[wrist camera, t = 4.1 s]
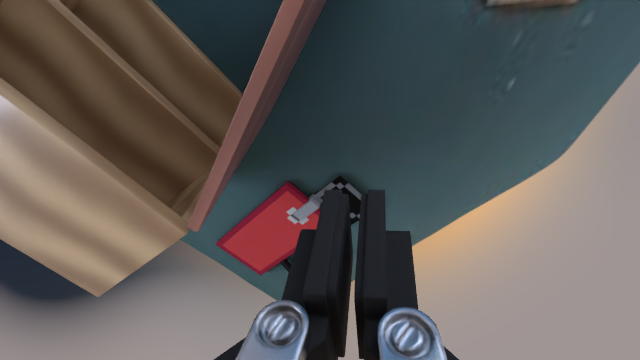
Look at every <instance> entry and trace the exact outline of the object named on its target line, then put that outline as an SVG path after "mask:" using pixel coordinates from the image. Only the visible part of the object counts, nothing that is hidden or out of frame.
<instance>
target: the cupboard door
mask: <svg viewBox="0 0 640 360" xmlns="http://www.w3.org/2000/svg"><path fill="white" fill-rule="evenodd" d="M326 1H327V0H283V2H282V4H281V6H280V9H279V11H278V14H277V16H276V18H275V21H274V23H273V25H272V28H271V30H270V32H269V35H268V37H267V40H266V42H265V44H264V47H263V49H262V51H261V54H260V56H259V58H258V61H257V63H256V66H255V68H254V70H253V73H252V75H251V77H250V80H249V82H248V84H247V87H246V89H245V91H244V94H243V96H242V99H241V101H240V103H239V106H238V108H237V110H236V113H235V115H234V117H233V120H232V122H231V125H230V127H229V129H228V132H227V134H226V136H225V139H224V141H223V143H222V146H221V148H220V151H219V153H218V155H217V158H216V160H215V162H214V165H213V167H212V169H211V172H210V174H209V177H208V179H207V181H206V184H205V186H204V188H203V191H202V193H201V195H200V198H199V200H198V203H197V205H196V207H195V210H194V212H193V214H192V217H191V219H190V221H189V224H188V226H187V228H189V229H192V230H194V231H196V232H198V231H199V229H200V228H201V226H202V225H203V223H204V221H205V220H206V218H207V216H208V215H209V213H210V211H211V210H212V208H213V207H214V205H215V203H216V202H217V200H218V198H219V197H220V195H221V193H222V192H223V190H224V189H225V187H226V185H227V184H228V182H229V180H230V179H231V177H232V175H233V174H234V172H235V171H236V169H237V167H238V166H239V164H240V162H241V161H242V159H243V157H244V156H245V154H246V153H247V151H248V149H249V148H250V146H251V144H252V143H253V141H254V139H255V138H256V136H257V135H258V133H259V131H260V130H261V128H262V126H263V125H264V123H265V121H266V120H267V118H268V116H269V115H270V113H271V111H272V109H273V107H274V105H275V103H276V101H277V99H278V97H279V95H280V93H281V91H282V89H283V87H284V85H285V83H286V81H287V79H288V77H289V75H290V73H291V71H292V69H293V67H294V65H295V63H296V61H297V59H298V57H299V55H300V53H301V51H302V49H303V47H304V45H305V43H306V41H307V39H308V37H309V35H310V33H311V31H312V29H313V27H314V25H315V23H316V21H317V19H318V17H319V15H320V13H321V11H322V9H323V7H324V5H325V3H326Z"/></svg>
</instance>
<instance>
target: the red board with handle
mask: <svg viewBox="0 0 640 360" xmlns="http://www.w3.org/2000/svg"><path fill="white" fill-rule="evenodd" d="M325 190H342V194H348V196H349V209H350V222H351V225H352V224H353V223H355V222H356V221H358V220H359V219H360V205H361V194H360V193H359V192H358V191H357V190H356V189H355V188H353V187H352V186H351V185H350V184H349V183H348V182H347V181H345V180H344V179H343V178H342V177H341V176H339V177H338V178H336V179H335V180H334V181H333V182H331V183H330V184H329V185H327V186H326V187H325V188H323V189H322V190H321V191H320V192H318V193H317V194H316V195H314V194H312V195H311V196H310V197H307V196H306V195H304V194H303V193H302V192H301V191H300V190H298V189H297V188H296V187H295V186H293V185H292V184H291V183H290V182H288V181H287V182H286V183H285V184H284V185H283V186H281V187H280V188H279V189H278V190H277V191H276V192H274V193H273V194H272V195H271V196H270V197H269V198H267V199H266V200H265V201H264V202H263V203H262V204H260V205H259V206H258V207H257V208H256V209H255V210H253V211H252V212H251V213H250V214H249V215H248V216H246V217H245V218H244V219H243V220H242V221H241V222H239V223H238V224H237V225H236V226H235V227H234V228H232V229H231V230H230V231H229V232H228V233H227V234H225V235H224V236H223V237H222V238H221V239H220V240H218V242H217V243H216V245H217V246H219V247H220V248H221V249H223V250H224V251H226V252H227V253H229V254H230V255H232V256H233V257H235V258H236V259H238V260H239V261H240V262H242V263H243V264H245V265H246V266H248V267H249V268H251V269H252V270H254V271H255V272H257V273H258V274H259V275H262V274H263V273H265V272H266V271H268V270H269V269H271V268H272V267H274V266H275V265H277V264H278V263H281V264H282V265H283V266H284V268H285V269H286V270H287V271H288V272H289V271H290V267H291V264H290V263H289V262H288V260H287V259H286V258H287V257H289V256H290V255H292V254H293V253H294V252H295V249H296V245H297V241H298V237H299V234H300V231H301V230H302V229H316V228H317V224H318V219H319V214H320V210H321V208H320V204H321V205H322V200H323V196H324V192H325ZM288 275H289V274H288Z"/></svg>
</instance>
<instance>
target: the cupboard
mask: <svg viewBox="0 0 640 360" xmlns="http://www.w3.org/2000/svg"><path fill="white" fill-rule="evenodd" d="M242 96H243V93H242V92H241V91H240V90H239V89H238V88H237V87H236V86H235V85H234V84H233V83H232V82H231V81H230V80H229V79H228V78H227V77H226V76H225V75H224V74H223V73H222V72H221V71H220V70H219V69H218V68H217V67H216V65H215V64H214V63H213V62H212V61H211V60H210V59H209V58H208V57H207V56H206V55H205V54H204V53H203V52H202V51H201V50H200V49H199V48H198V47H197V46H196V45H195V44H194V43H193V42H192V41H191V40H190V39H189V38H188V37H187V36H186V35H185V34H184V33H183V32H182V31H181V30H180V29H179V28H178V27H177V26H176V24H175V23H174V22H173V21H172V20H171V19H170V18H169V17H168V16H167V15H166V14H165V13H164V12H163V11H162V10H161V9H160V8H159V7H158V6H157V5H156V4H155V3H154V2H153V1H152V0H0V239H1V240H3V241H4V242H6V243H8V244H9V245H11V246H13V247H15V248H16V249H18V250H20V251H21V252H23V253H25V254H26V255H28V256H30V257H31V258H33V259H35V260H37V261H38V262H40V263H42V264H44V265H45V266H46V267H48V268H50V269H52V270H53V271H55V272H57V273H58V274H60V275H62V276H63V277H65V278H67V279H68V280H70V281H72V282H73V283H75V284H77V285H78V286H80V287H82V288H84V289H85V290H87V291H89V292H90V293H92V294H93V295H95V296H97V297H99V296H100V295H102V294H103V293H105V292H106V291H107V290H109V289H110V288H112V287H113V286H114V285H116V284H117V283H119V282H120V281H121V280H123V279H124V278H126V277H127V276H129V275H130V274H131V273H133V272H134V271H136V270H137V269H138V268H140V267H141V266H143V265H144V264H145V263H147V262H148V261H150V260H151V259H153V258H154V257H155V256H157V255H158V254H160V253H161V252H162V251H164V250H165V249H167V248H168V247H169V246H171V245H172V244H174V243H175V242H177V241H178V240H179V239H181V238H182V237H184V236H185V235H186V234H187V233H188V231H189V230H190V229H189V228H187V226H188V224H189V221H190V219H191V217H192V214H193V212H194V210H195V207H196V205H197V203H198V200H199V198H200V195H201V193H202V191H203V188H204V186H205V184H206V181H207V179H208V177H209V174H210V172H211V169H212V167H213V165H214V162H215V160H216V158H217V155H218V153H219V151H220V148H221V146H222V143H223V141H224V139H225V136H226V134H227V132H228V129H229V127H230V125H231V122H232V120H233V117H234V115H235V113H236V110H237V108H238V106H239V103H240V101H241V99H242Z"/></svg>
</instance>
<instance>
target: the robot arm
mask: <svg viewBox="0 0 640 360" xmlns="http://www.w3.org/2000/svg"><path fill="white" fill-rule="evenodd" d="M352 263H353V248H352V235H351V222H350V209H349V196H348V194H342V190H325V192H324V196H323V200H322V205H321V210H320V214H319V219H318V224H317V228H316V229H302V230H301V231H300V234H299V237H298V241H297V245H296V249H295V252H294V256H293V260H292V263H291V267H290V271H289V275H288V278H287V282H286V286H285V290H284V293H283V297H282V300H279V301H275V302H272V303H270V304H269V305H267V306H265V308H263V309H262V310H261V311H260V312H259V313H258V315H257V316H256V318H255V319H254V321H253V324H252V326H251V328H250V330H249V332H248V335H247V337H246V338H244V339H243V340H241V341H240V342H239V343H237V344H236V345H234V346H233V347H231V348H230V349H229V350H227V351H226V352H224V353H223V354H221V355H220V356H218V357H217V358H216V359H214V360H338V357H344V356H345V347H346V335H347V323H348V311H349V299H350V286H351V275H352ZM355 312H356V324H357V337H358V347H359V359H364V360H459V359H458V358H456V357H455V356H454V355H453V354H452V353H451V352H450V351H448V350H447V349H446V348H445V347H444V346H443V343H442V340H441V336H440V333H439V331H438V329H437V327H436V324H435V323H434V322H433V321H432V319H431V318H430V317H429V316H427V315H426V314H425V313H423V312H422V311H419V310H418V304H417V294H416V284H415V274H414V264H413V255H412V245H411V235H410V231H386V222H385V190H368V194H361V205H360V219H359V233H358V248H357V262H356V276H355Z"/></svg>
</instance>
